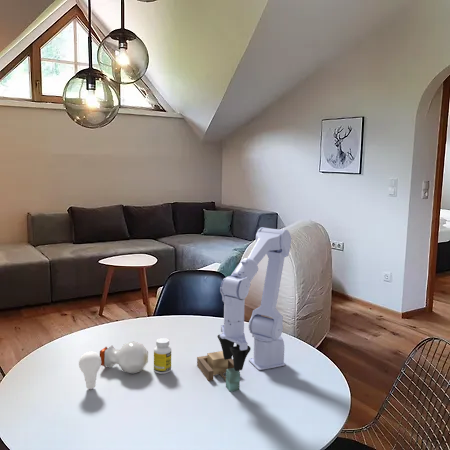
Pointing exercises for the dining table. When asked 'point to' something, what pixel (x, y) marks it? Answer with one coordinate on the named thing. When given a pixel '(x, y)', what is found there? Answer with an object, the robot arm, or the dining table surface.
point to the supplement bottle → (162, 356)
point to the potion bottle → (126, 357)
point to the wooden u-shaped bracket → (207, 369)
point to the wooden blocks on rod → (224, 370)
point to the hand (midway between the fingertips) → (232, 364)
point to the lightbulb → (90, 367)
